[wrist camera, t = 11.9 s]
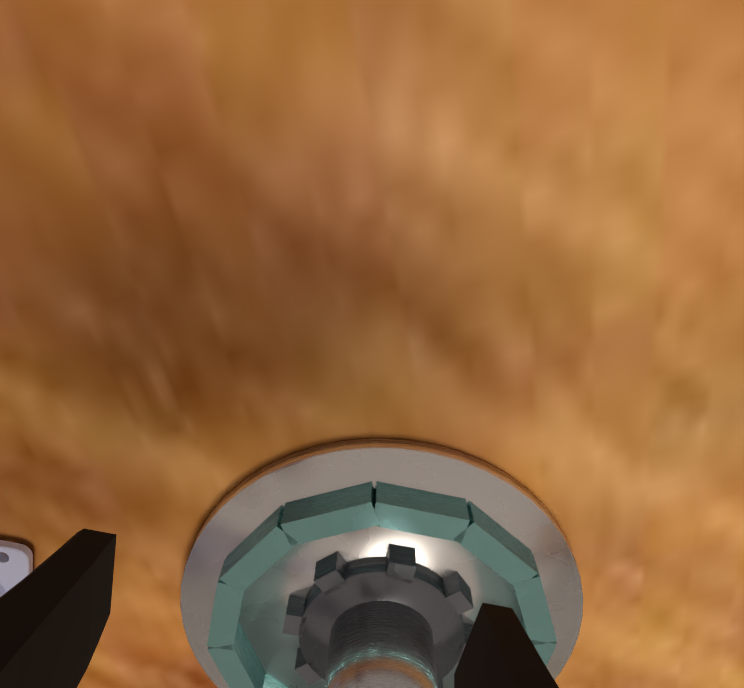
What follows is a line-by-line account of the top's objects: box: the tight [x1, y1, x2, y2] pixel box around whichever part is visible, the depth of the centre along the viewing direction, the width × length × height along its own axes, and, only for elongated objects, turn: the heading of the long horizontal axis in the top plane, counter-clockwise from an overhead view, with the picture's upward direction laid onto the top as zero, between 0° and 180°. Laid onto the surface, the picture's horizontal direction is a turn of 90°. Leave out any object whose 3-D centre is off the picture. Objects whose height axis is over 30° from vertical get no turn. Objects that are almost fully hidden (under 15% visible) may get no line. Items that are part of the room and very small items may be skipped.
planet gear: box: [282, 544, 474, 688], centre depth 23 cm, size 8×8×6 cm
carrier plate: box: [180, 438, 583, 688], centre depth 25 cm, size 16×16×2 cm
